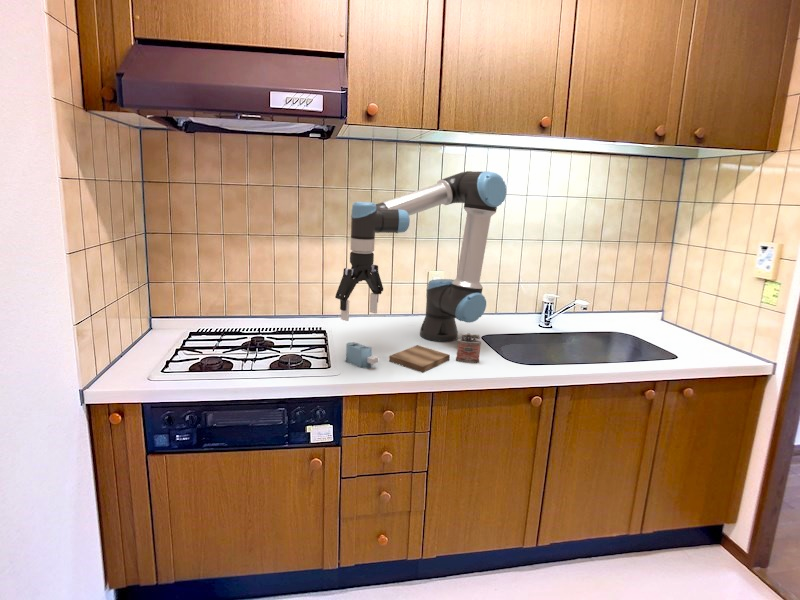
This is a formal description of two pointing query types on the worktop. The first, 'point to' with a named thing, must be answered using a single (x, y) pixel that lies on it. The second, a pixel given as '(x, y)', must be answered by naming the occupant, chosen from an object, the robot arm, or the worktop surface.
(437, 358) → the walnut board
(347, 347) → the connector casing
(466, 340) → the lighter
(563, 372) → the worktop surface
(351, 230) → the robot arm
